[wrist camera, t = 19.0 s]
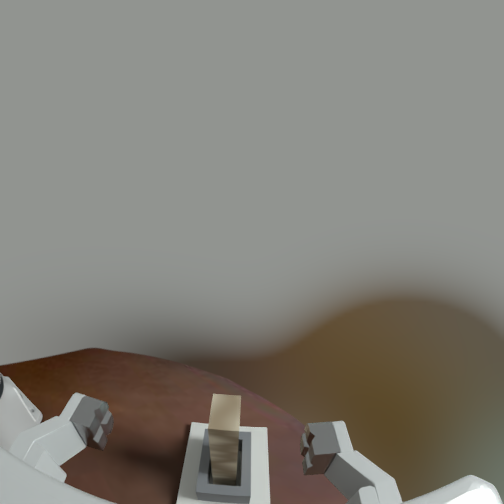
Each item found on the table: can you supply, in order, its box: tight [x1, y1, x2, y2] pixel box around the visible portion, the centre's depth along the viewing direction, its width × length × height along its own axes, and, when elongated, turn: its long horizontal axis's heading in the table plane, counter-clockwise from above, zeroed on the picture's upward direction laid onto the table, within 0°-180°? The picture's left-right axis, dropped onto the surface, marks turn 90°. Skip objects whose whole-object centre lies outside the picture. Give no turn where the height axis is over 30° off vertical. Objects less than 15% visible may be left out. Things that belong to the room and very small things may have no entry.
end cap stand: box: [176, 422, 270, 504], centre depth 29 cm, size 12×18×4 cm, turn 0°
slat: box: [208, 394, 241, 486], centre depth 28 cm, size 3×5×15 cm, turn 0°
